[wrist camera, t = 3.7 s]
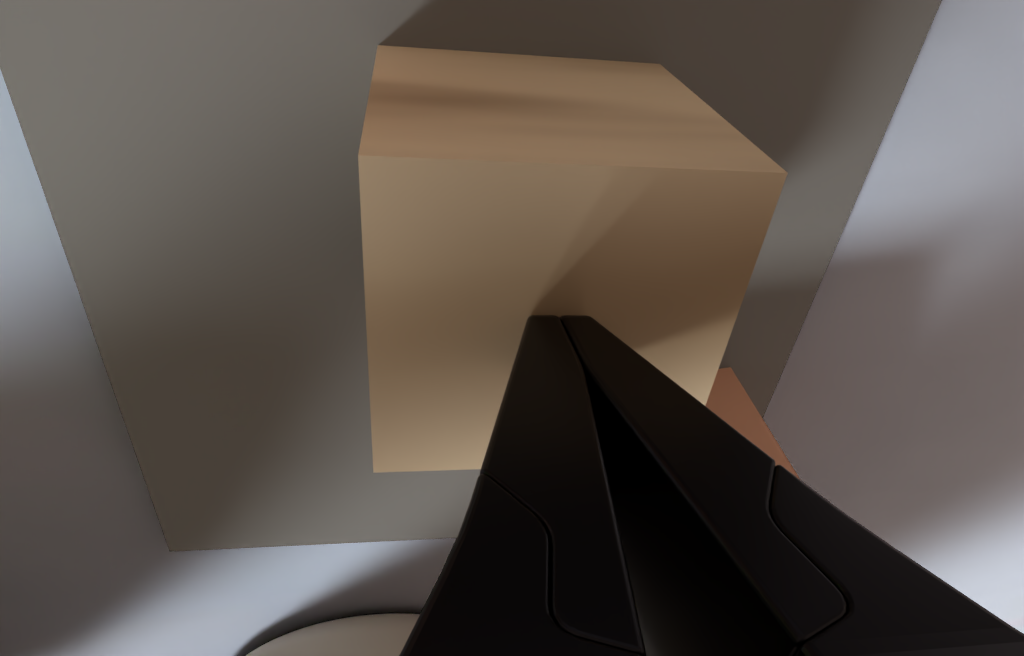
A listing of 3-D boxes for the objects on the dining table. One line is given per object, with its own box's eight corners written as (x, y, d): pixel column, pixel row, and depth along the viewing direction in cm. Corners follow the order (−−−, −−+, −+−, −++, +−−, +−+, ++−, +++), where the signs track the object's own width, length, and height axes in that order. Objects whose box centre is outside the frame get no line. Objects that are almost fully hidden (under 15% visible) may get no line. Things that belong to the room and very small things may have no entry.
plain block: (610, 295, 15) (684, 463, 11) (384, 293, 14) (373, 472, 10) (659, 63, 12) (787, 172, 8) (377, 45, 11) (358, 155, 7)
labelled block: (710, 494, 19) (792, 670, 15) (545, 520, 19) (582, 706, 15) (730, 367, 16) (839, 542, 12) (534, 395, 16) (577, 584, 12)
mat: (711, 514, 21) (716, 525, 20) (173, 538, 18) (169, 551, 18) (1195, -648, 8) (1229, -671, 8) (-376, -1085, 5) (-425, -1143, 5)
